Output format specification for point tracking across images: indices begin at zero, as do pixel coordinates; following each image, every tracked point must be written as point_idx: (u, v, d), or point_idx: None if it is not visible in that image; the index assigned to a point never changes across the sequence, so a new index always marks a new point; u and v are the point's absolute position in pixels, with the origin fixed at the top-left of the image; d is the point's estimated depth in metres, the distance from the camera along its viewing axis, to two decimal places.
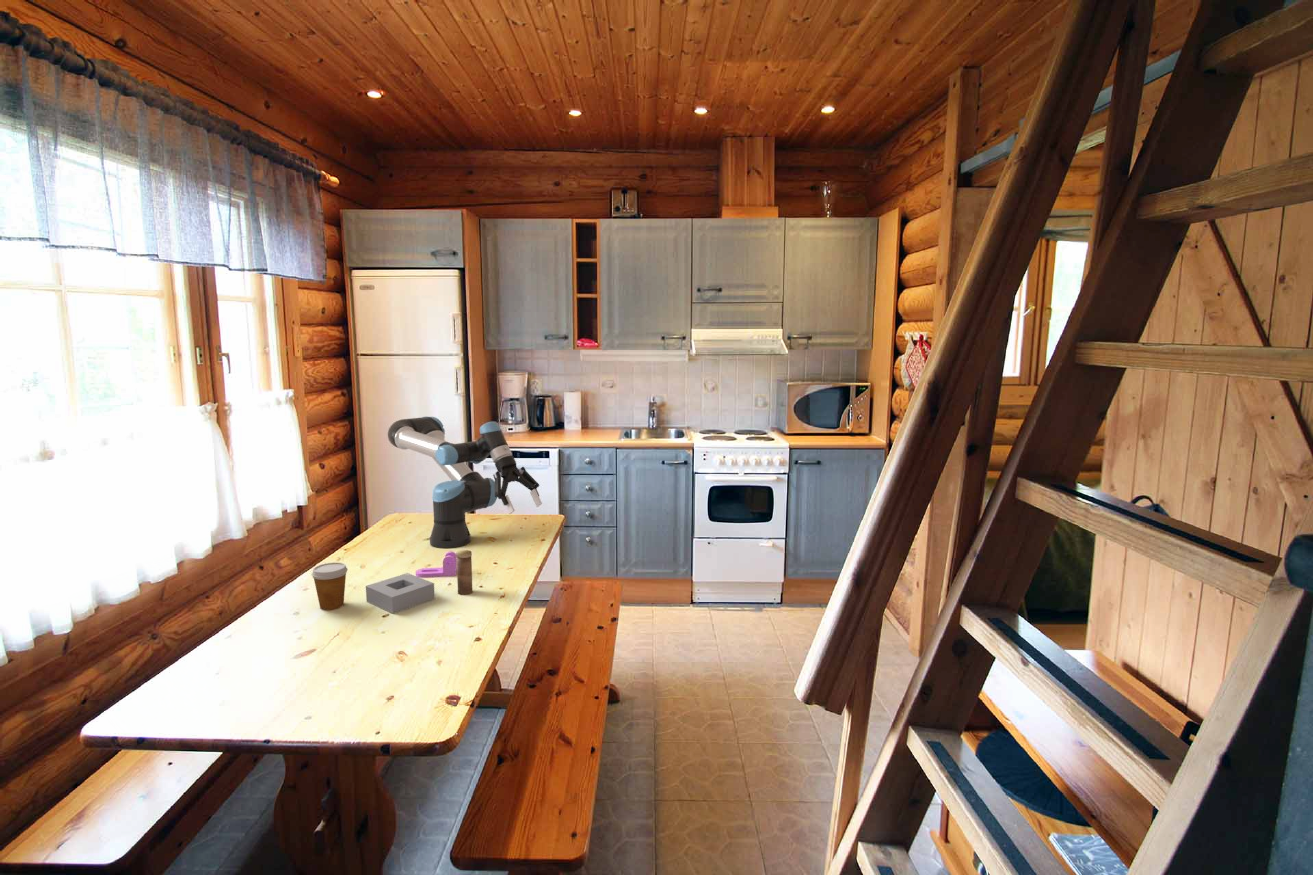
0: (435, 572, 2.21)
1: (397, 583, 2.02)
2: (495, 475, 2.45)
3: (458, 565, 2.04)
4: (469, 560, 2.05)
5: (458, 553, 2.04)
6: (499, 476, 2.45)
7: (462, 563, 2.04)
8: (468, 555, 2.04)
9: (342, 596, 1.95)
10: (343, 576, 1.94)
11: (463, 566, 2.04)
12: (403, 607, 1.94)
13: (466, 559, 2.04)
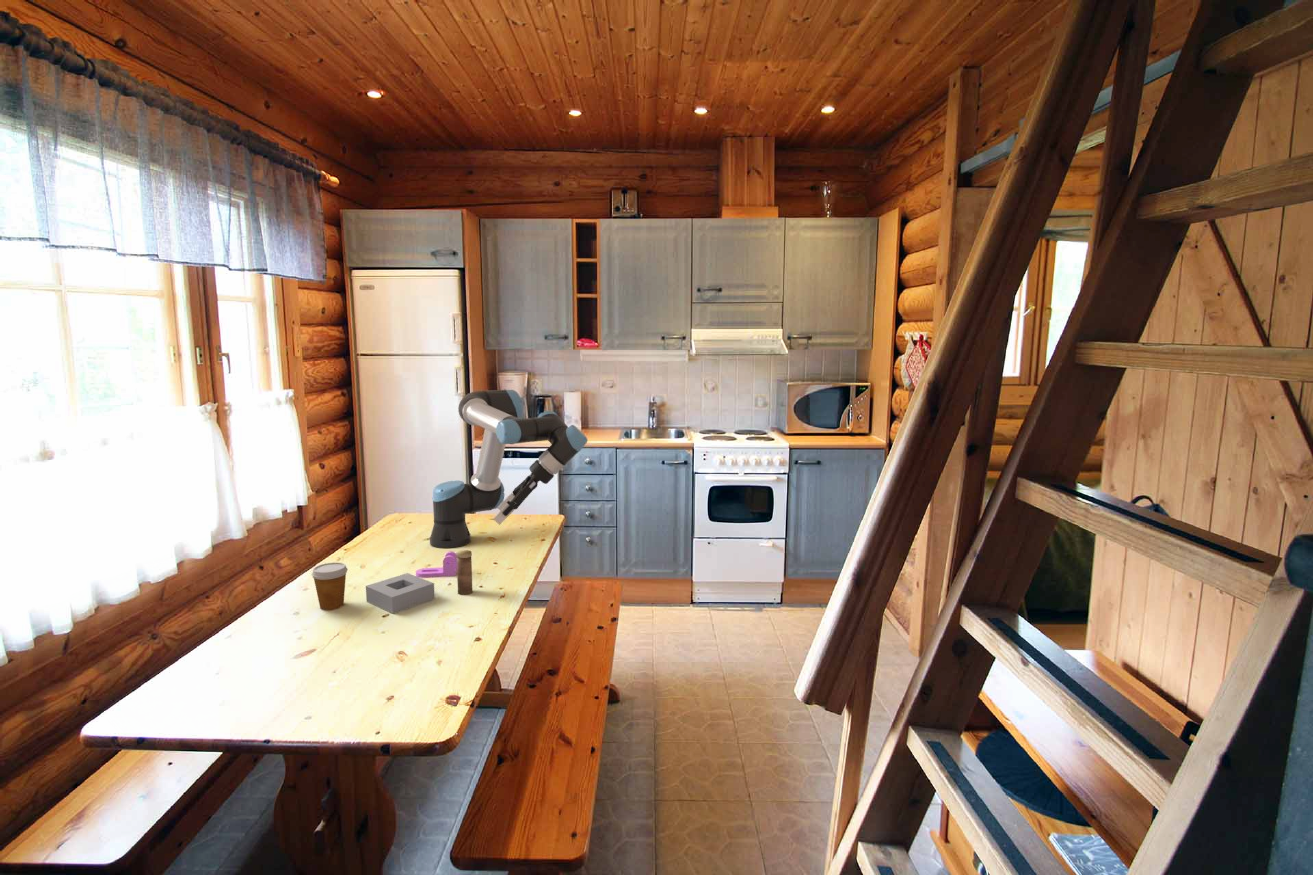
0: (435, 572, 2.21)
1: (397, 583, 2.02)
2: (532, 485, 1.99)
3: (458, 565, 2.04)
4: (469, 560, 2.05)
5: (458, 553, 2.04)
6: (532, 490, 2.00)
7: (462, 563, 2.04)
8: (468, 555, 2.04)
9: (342, 596, 1.95)
10: (343, 576, 1.94)
11: (463, 566, 2.04)
12: (403, 607, 1.94)
13: (466, 559, 2.04)
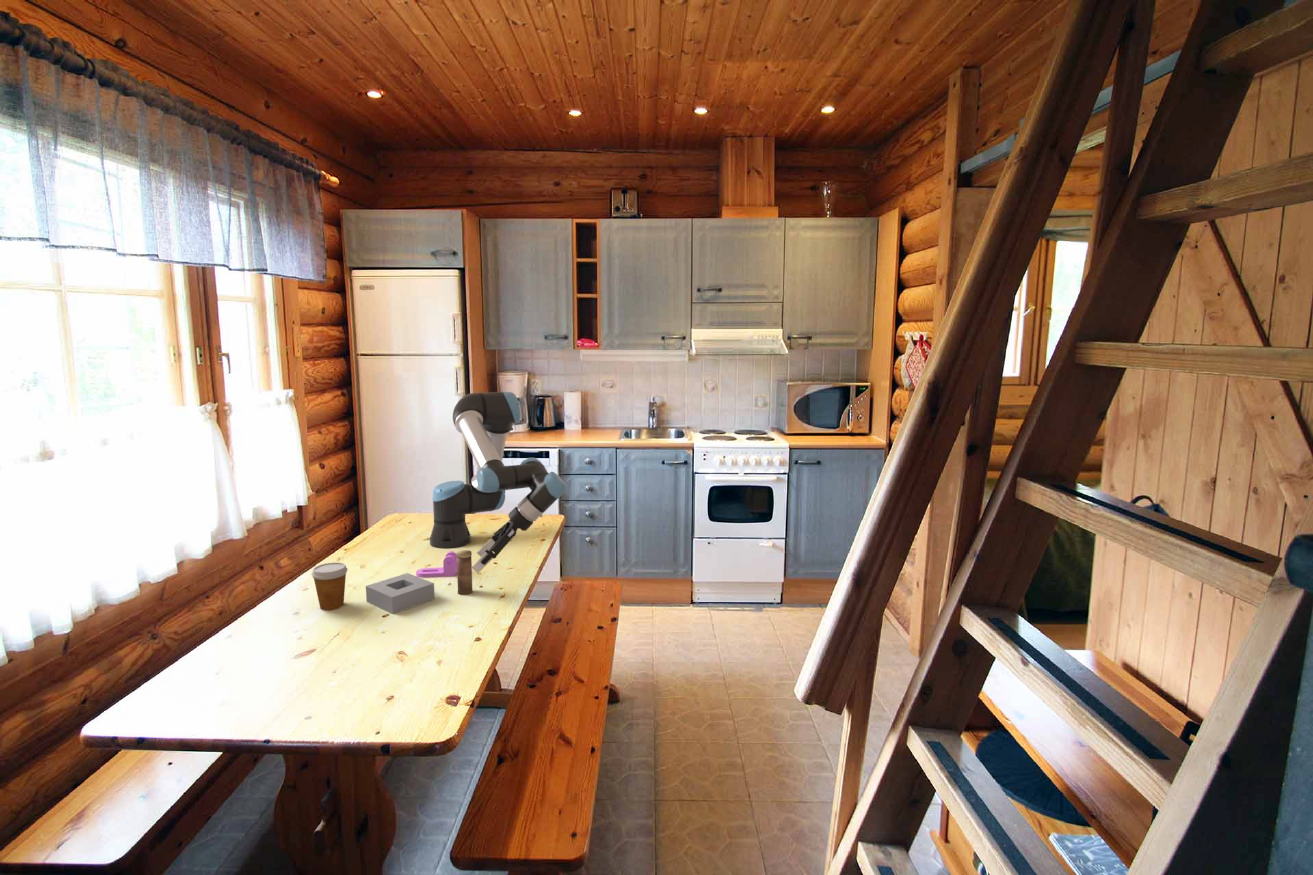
0: (436, 572, 2.21)
1: (397, 583, 2.02)
2: (510, 534, 1.99)
3: (458, 565, 2.04)
4: (469, 560, 2.05)
5: (458, 553, 2.04)
6: (511, 538, 1.99)
7: (462, 563, 2.04)
8: (468, 555, 2.04)
9: (342, 596, 1.95)
10: (343, 576, 1.94)
11: (463, 566, 2.04)
12: (403, 607, 1.94)
13: (466, 559, 2.04)
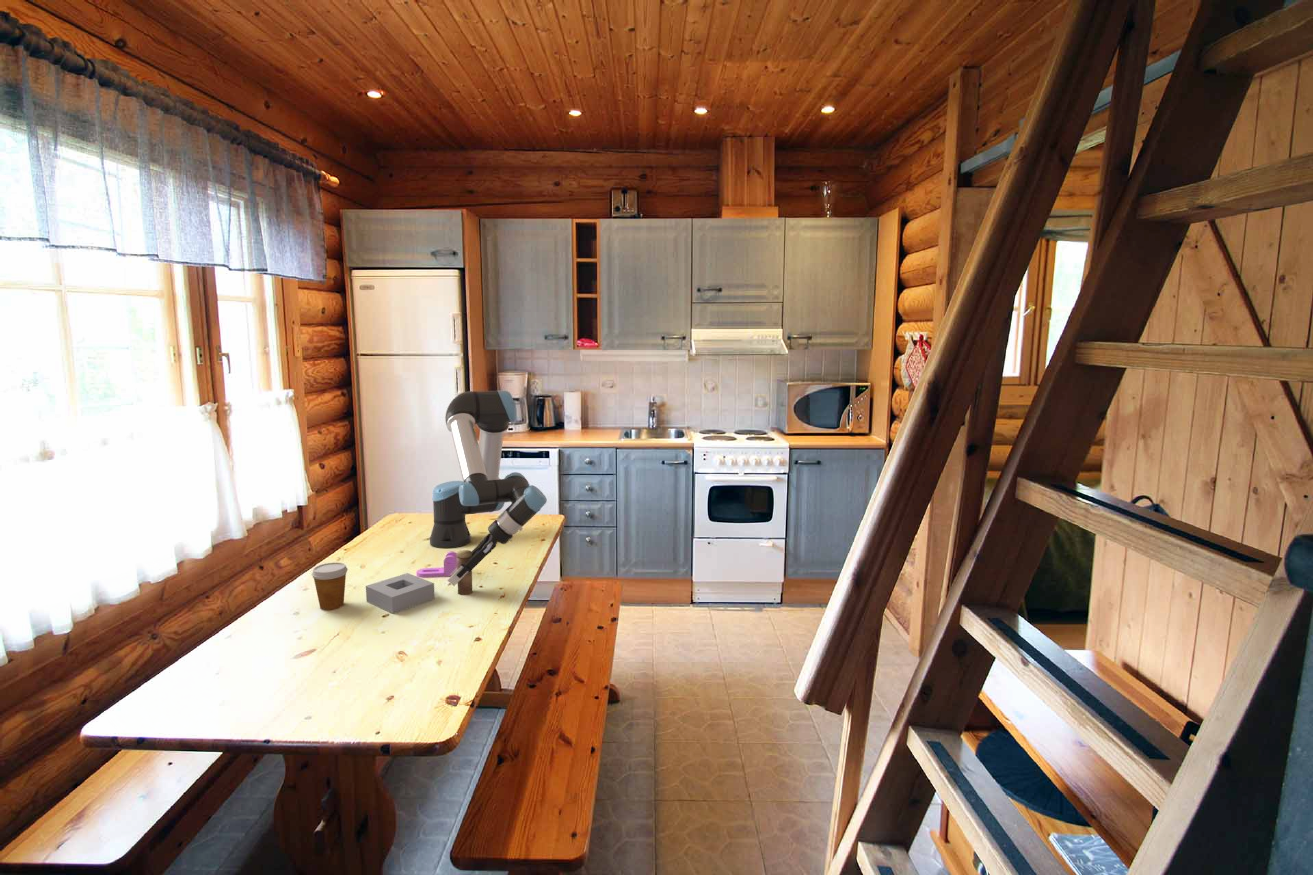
0: (436, 572, 2.21)
1: (397, 583, 2.02)
2: (485, 551, 2.00)
3: (458, 565, 2.04)
4: None
5: (458, 553, 2.04)
6: None
7: None
8: (468, 555, 2.04)
9: (342, 596, 1.95)
10: (343, 576, 1.94)
11: None
12: (403, 607, 1.94)
13: (466, 559, 2.04)
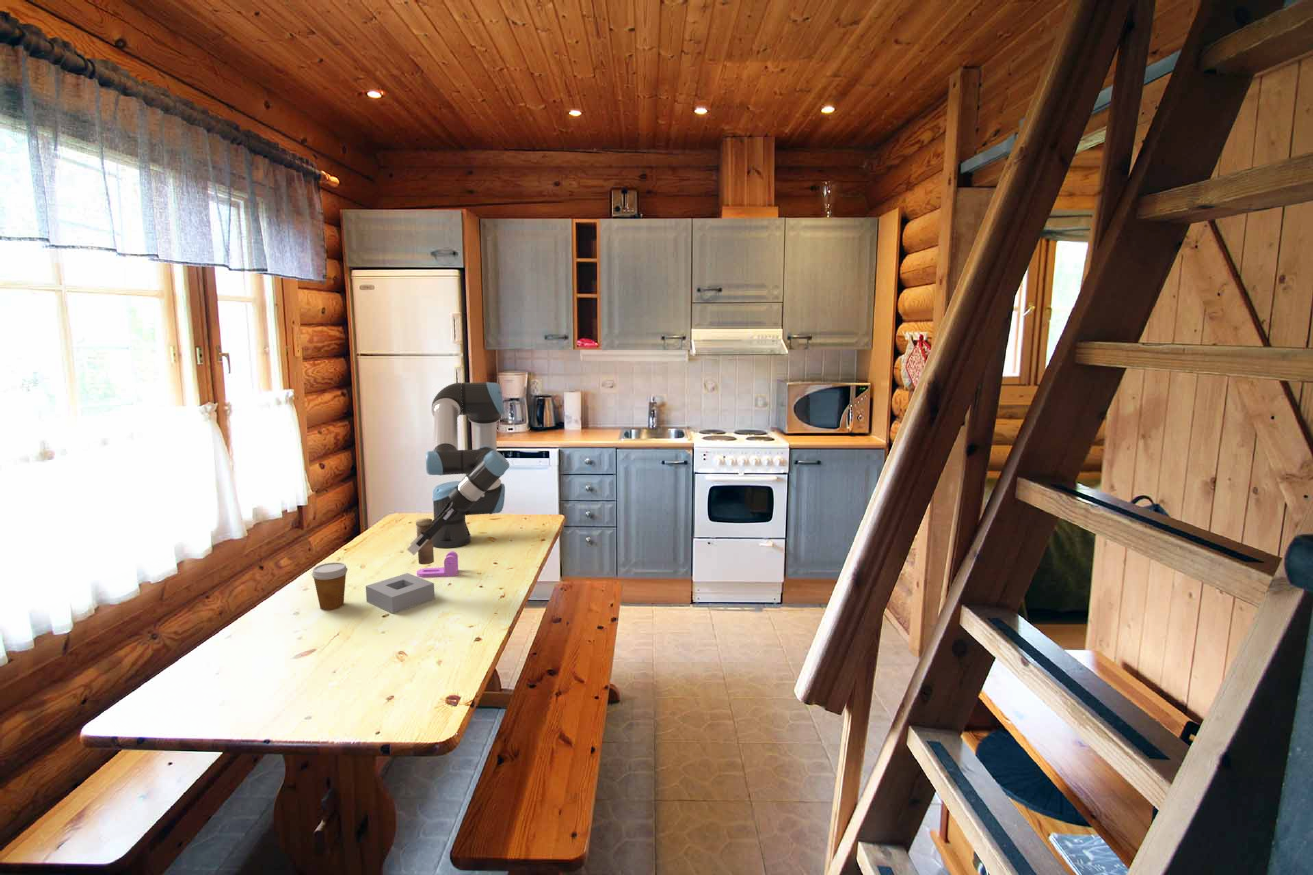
0: (436, 572, 2.21)
1: (397, 583, 2.02)
2: (445, 517, 1.93)
3: (418, 533, 1.97)
4: None
5: (418, 521, 1.97)
6: (447, 521, 1.94)
7: (422, 531, 1.97)
8: (428, 523, 1.97)
9: (342, 596, 1.95)
10: (343, 576, 1.94)
11: None
12: (403, 607, 1.94)
13: (426, 527, 1.97)
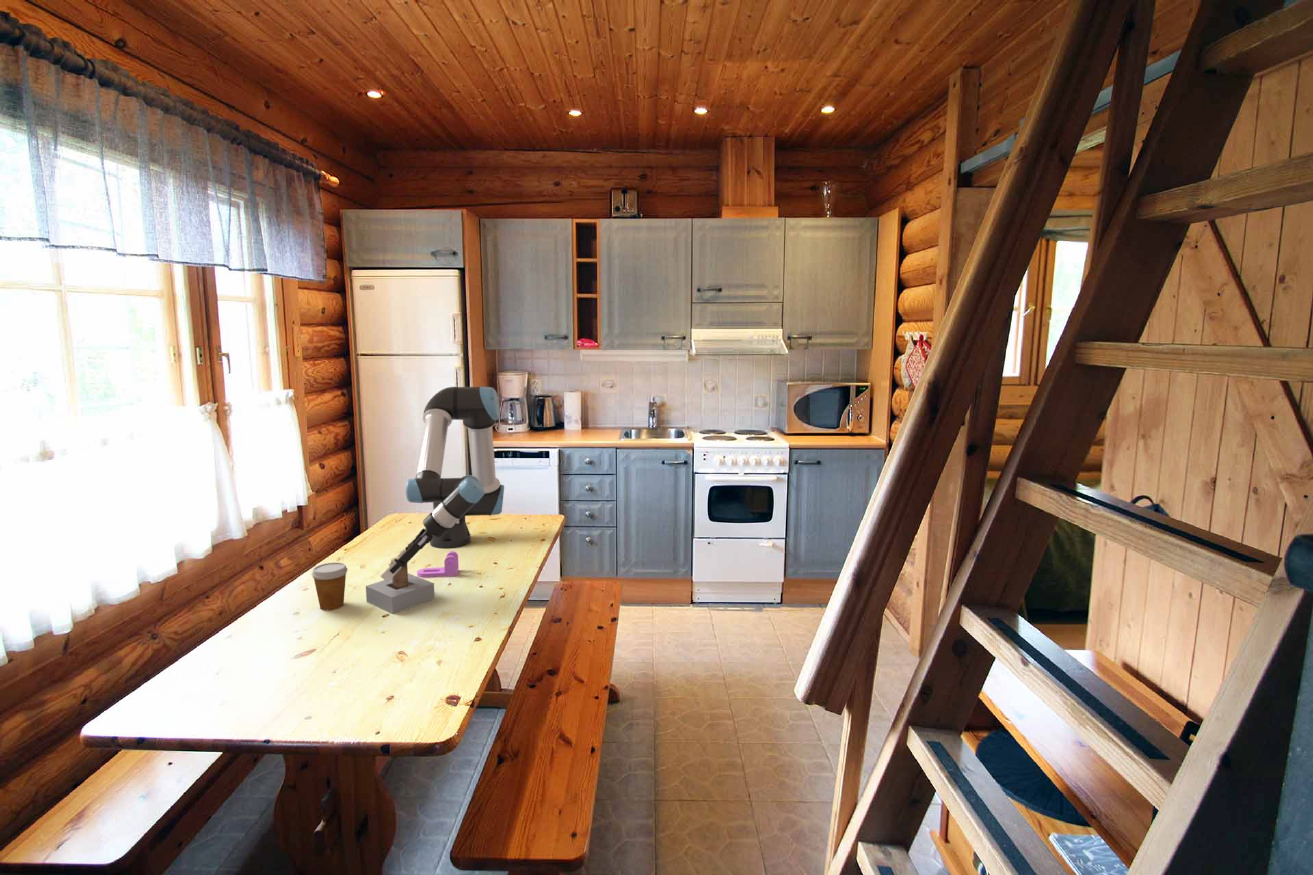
0: (437, 572, 2.21)
1: None
2: (420, 543, 1.92)
3: None
4: (404, 567, 1.98)
5: (393, 560, 1.98)
6: (422, 547, 1.93)
7: None
8: None
9: (342, 596, 1.95)
10: (343, 576, 1.94)
11: (398, 573, 1.97)
12: (403, 607, 1.94)
13: None
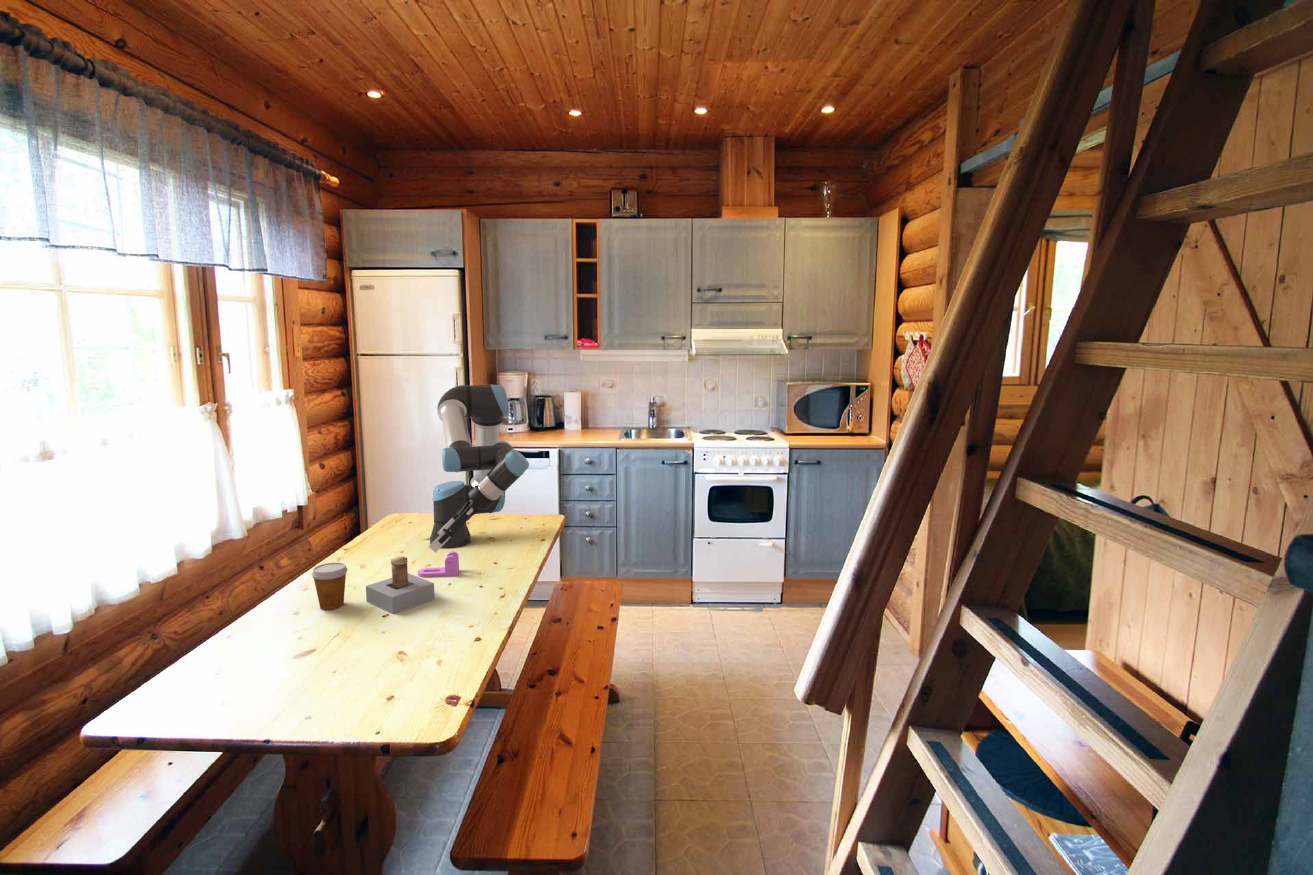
0: (437, 572, 2.21)
1: None
2: (469, 512, 1.93)
3: (393, 572, 1.97)
4: (404, 567, 1.98)
5: (393, 560, 1.98)
6: (469, 517, 1.94)
7: (397, 570, 1.97)
8: (403, 562, 1.97)
9: (342, 596, 1.95)
10: (343, 576, 1.94)
11: (398, 573, 1.97)
12: (403, 607, 1.94)
13: (401, 566, 1.97)
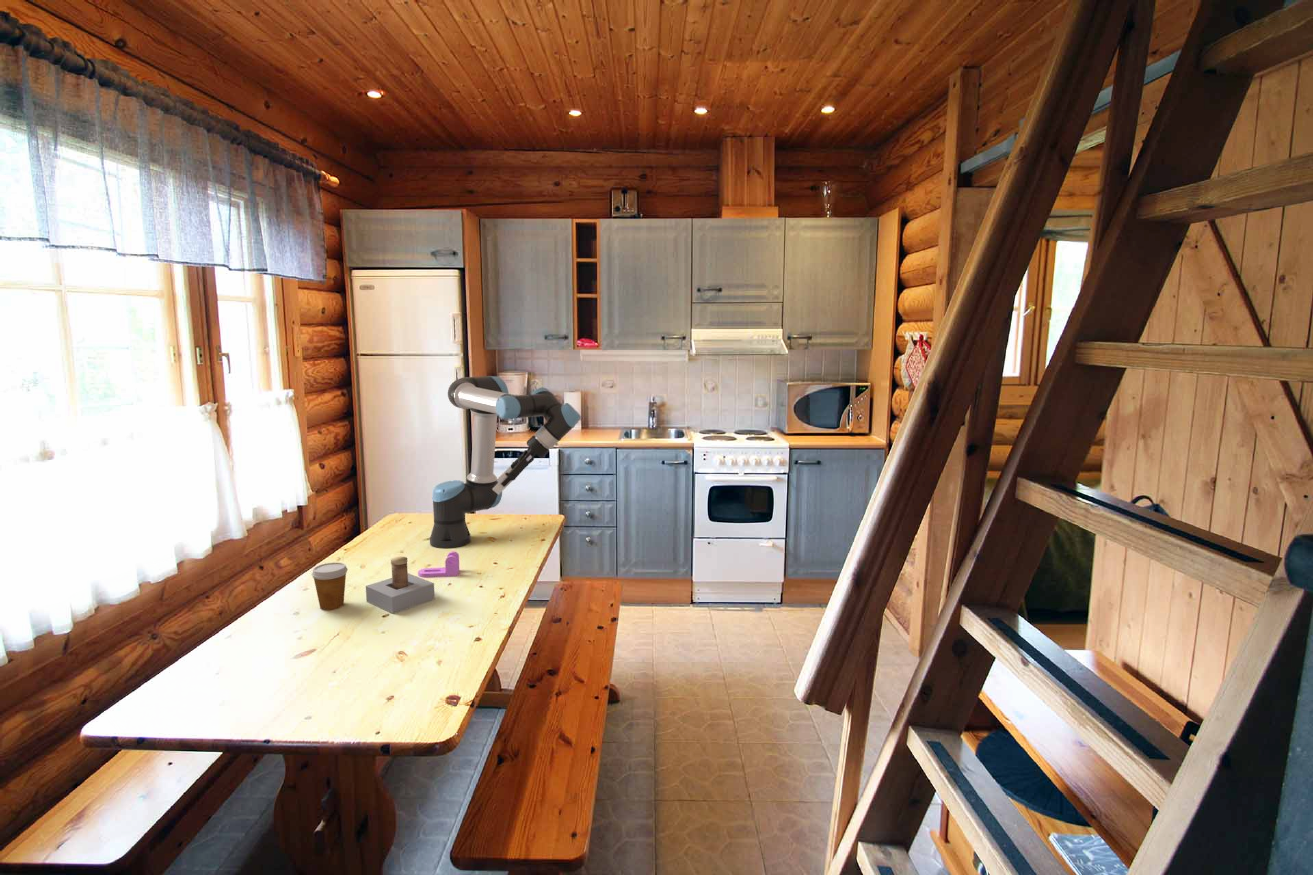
0: (437, 572, 2.21)
1: None
2: (528, 458, 2.14)
3: (393, 572, 1.97)
4: (404, 567, 1.98)
5: (393, 560, 1.98)
6: (529, 463, 2.15)
7: (397, 570, 1.97)
8: (403, 562, 1.97)
9: (342, 596, 1.95)
10: (343, 576, 1.94)
11: (398, 573, 1.97)
12: (403, 607, 1.94)
13: (401, 566, 1.97)
